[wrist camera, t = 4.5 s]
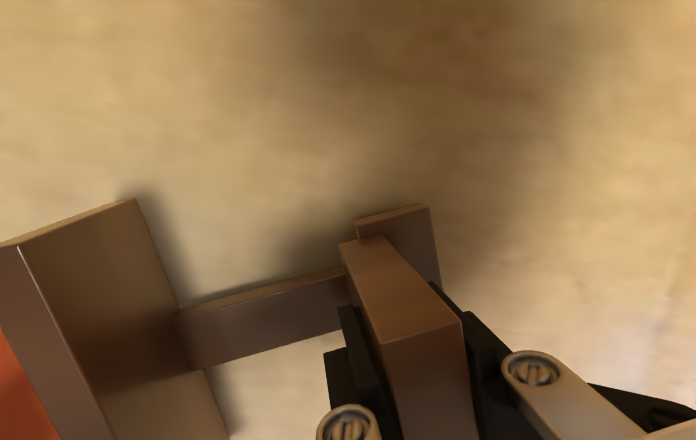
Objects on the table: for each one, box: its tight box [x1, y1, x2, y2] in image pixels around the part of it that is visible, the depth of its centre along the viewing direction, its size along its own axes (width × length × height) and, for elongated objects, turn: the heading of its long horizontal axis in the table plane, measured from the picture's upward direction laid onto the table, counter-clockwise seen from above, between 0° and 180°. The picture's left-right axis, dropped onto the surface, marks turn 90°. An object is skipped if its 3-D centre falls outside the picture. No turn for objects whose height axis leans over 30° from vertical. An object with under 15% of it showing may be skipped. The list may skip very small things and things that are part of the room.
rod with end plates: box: [0, 198, 480, 440], centre depth 12 cm, size 12×12×8 cm
